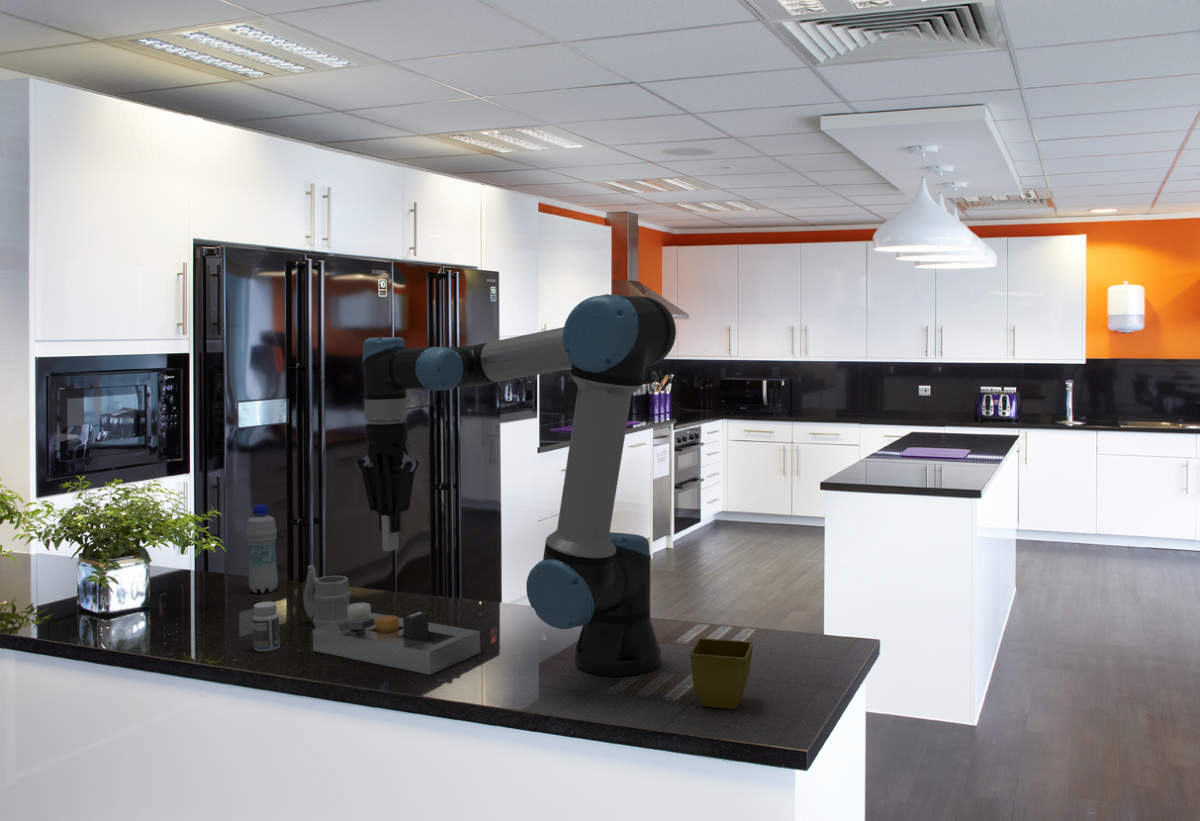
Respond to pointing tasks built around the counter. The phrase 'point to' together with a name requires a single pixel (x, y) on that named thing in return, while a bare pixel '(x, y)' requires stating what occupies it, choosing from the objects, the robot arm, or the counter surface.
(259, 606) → the pill bottle
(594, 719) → the counter surface
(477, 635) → the panel
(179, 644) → the counter surface
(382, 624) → the orange button
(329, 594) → the mug
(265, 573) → the bottle
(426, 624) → the slider knob
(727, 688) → the flower pot
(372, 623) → the block
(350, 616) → the cream button
